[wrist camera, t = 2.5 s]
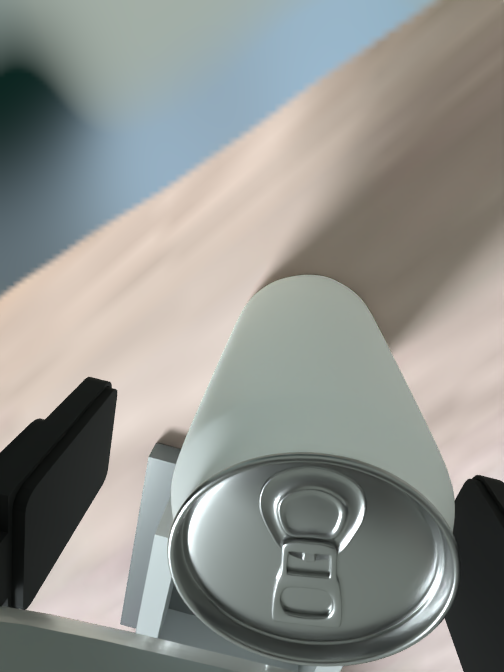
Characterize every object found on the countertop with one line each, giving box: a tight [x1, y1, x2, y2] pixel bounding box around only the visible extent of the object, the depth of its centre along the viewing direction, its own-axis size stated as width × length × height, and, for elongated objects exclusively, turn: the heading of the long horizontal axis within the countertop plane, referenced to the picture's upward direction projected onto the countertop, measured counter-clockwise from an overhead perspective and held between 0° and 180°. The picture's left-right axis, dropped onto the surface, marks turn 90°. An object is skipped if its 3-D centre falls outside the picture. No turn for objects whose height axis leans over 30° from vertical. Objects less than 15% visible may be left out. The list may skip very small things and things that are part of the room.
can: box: [167, 275, 461, 667], centre depth 13 cm, size 6×6×12 cm
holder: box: [120, 443, 343, 672], centre depth 23 cm, size 14×14×4 cm
